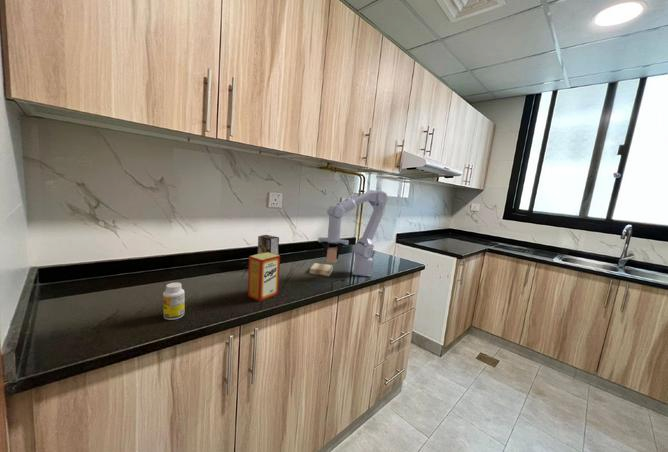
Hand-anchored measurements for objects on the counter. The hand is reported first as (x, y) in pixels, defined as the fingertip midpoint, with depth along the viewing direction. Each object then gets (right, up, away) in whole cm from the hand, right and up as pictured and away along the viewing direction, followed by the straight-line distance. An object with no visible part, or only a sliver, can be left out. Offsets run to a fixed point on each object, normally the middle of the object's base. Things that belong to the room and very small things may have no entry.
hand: (332, 257), depth 124 cm
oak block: (-6, -9, +9) cm, 13 cm away
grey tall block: (-34, -6, +9) cm, 35 cm away
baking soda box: (-26, -12, -25) cm, 38 cm away
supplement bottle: (-48, -13, -45) cm, 67 cm away
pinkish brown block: (0, -2, 0) cm, 2 cm away
